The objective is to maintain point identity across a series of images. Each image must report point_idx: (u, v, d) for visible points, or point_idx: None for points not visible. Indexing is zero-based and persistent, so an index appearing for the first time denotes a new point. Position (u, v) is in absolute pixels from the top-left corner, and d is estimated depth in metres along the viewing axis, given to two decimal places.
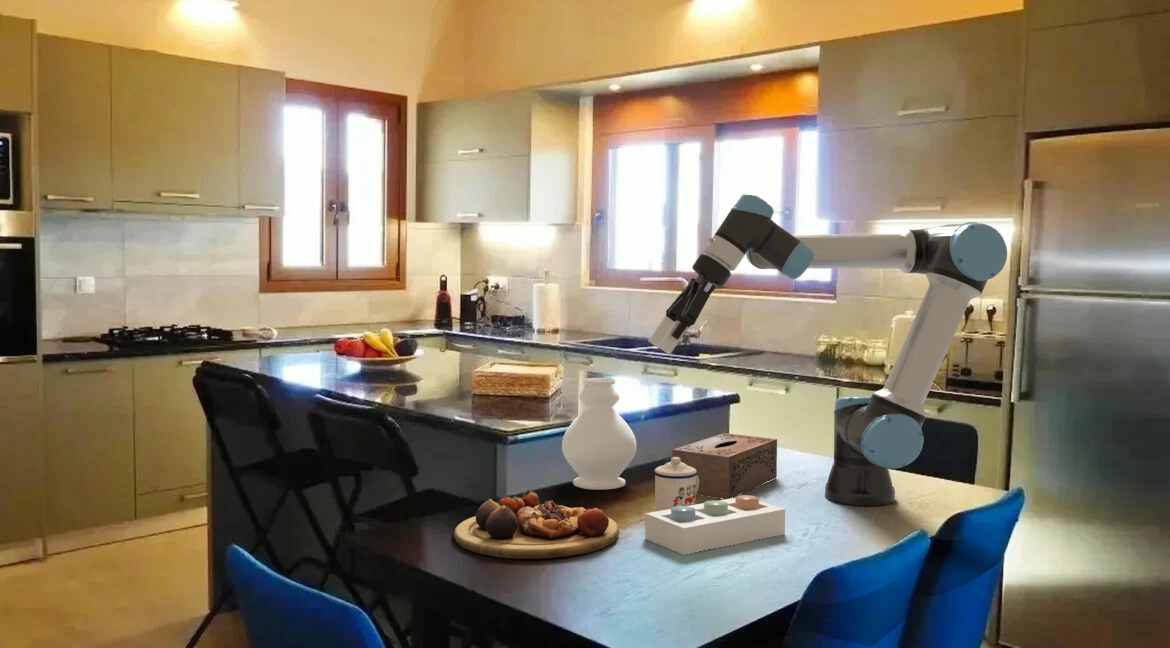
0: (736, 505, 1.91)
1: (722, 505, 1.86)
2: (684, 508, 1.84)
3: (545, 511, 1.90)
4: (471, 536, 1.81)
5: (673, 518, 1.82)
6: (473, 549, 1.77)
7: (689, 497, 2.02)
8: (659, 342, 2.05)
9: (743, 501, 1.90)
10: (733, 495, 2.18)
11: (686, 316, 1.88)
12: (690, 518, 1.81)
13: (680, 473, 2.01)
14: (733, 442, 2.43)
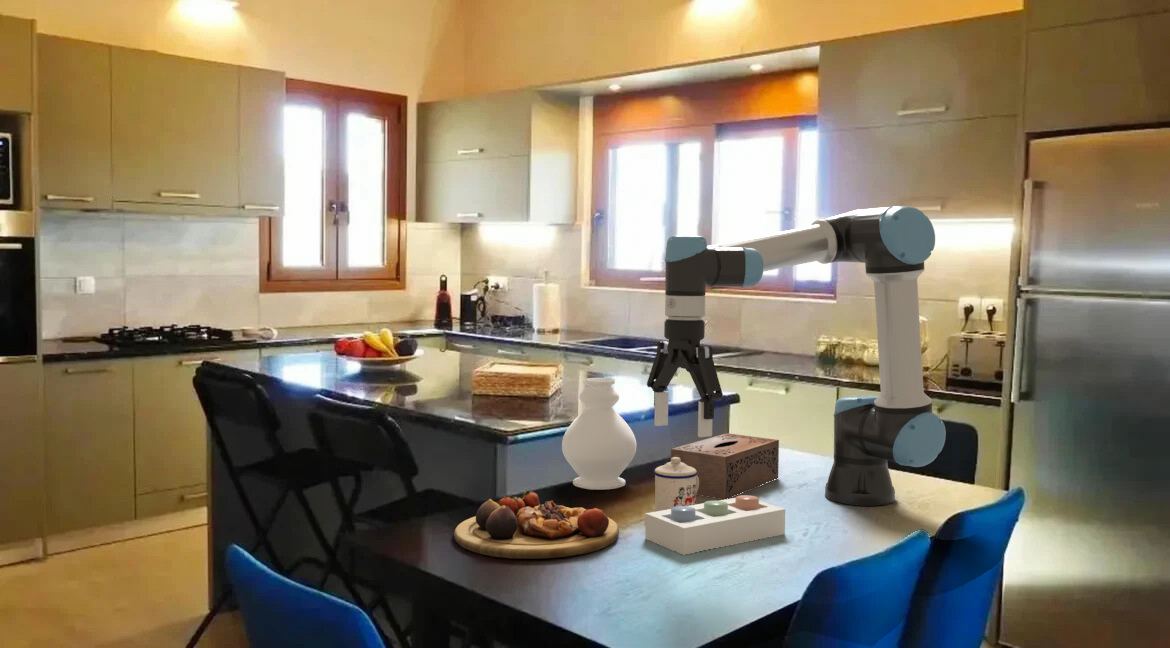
0: (736, 505, 1.91)
1: (722, 505, 1.86)
2: (684, 508, 1.84)
3: (545, 511, 1.90)
4: (471, 536, 1.81)
5: (673, 518, 1.82)
6: (473, 549, 1.77)
7: (689, 497, 2.02)
8: (665, 419, 1.88)
9: (743, 501, 1.90)
10: (730, 495, 2.18)
11: (713, 395, 1.73)
12: (690, 518, 1.81)
13: (680, 473, 2.01)
14: (736, 442, 2.43)
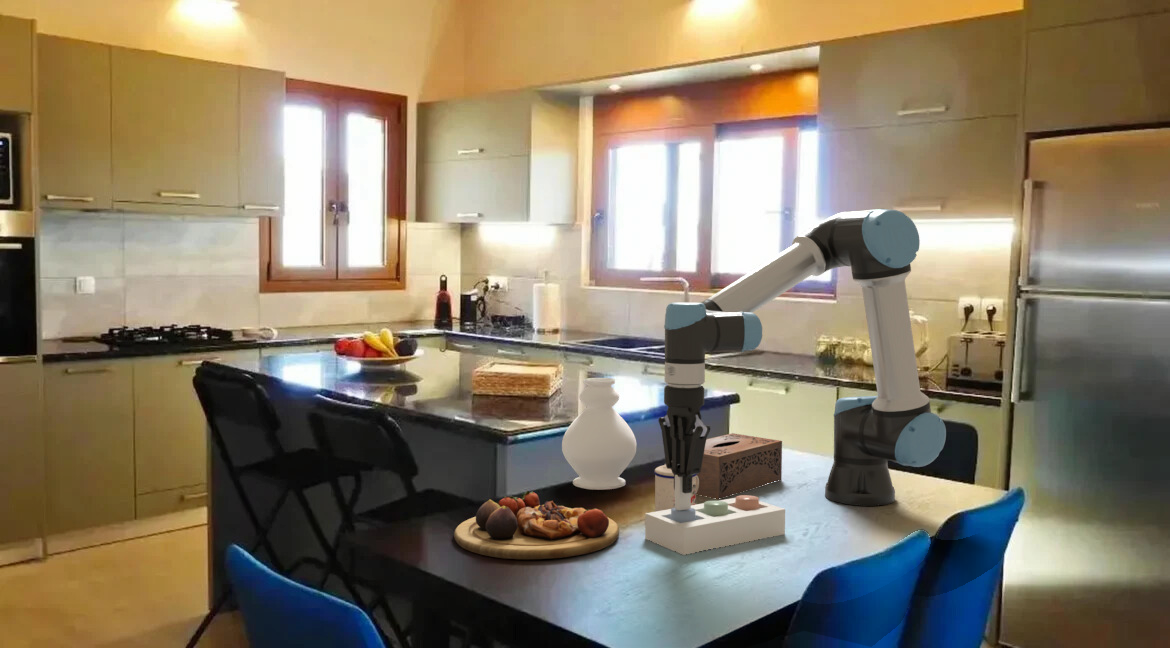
0: (736, 505, 1.91)
1: (722, 505, 1.86)
2: None
3: (545, 511, 1.90)
4: (471, 537, 1.81)
5: (673, 519, 1.82)
6: (473, 550, 1.77)
7: None
8: None
9: (743, 501, 1.90)
10: (725, 495, 2.18)
11: (691, 473, 1.79)
12: (690, 518, 1.81)
13: None
14: None
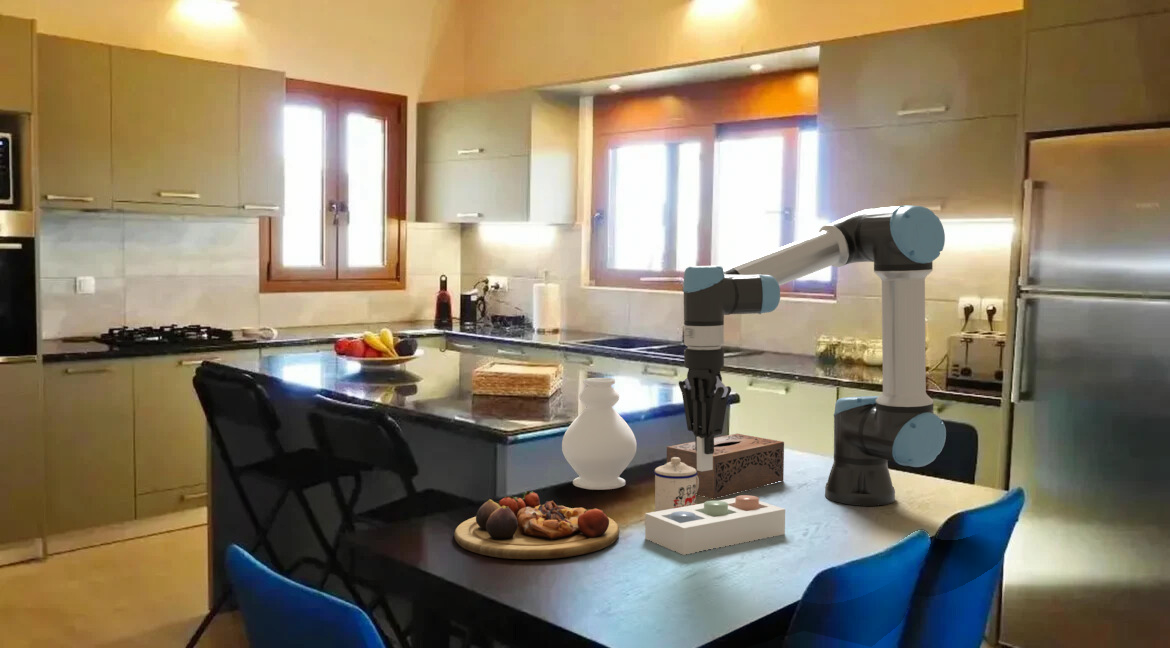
0: (736, 505, 1.91)
1: (722, 505, 1.86)
2: (684, 513, 1.84)
3: (545, 511, 1.90)
4: (471, 536, 1.81)
5: None
6: (474, 550, 1.77)
7: (689, 497, 2.02)
8: None
9: (743, 501, 1.90)
10: (721, 495, 2.19)
11: (713, 433, 1.81)
12: None
13: (680, 473, 2.01)
14: None
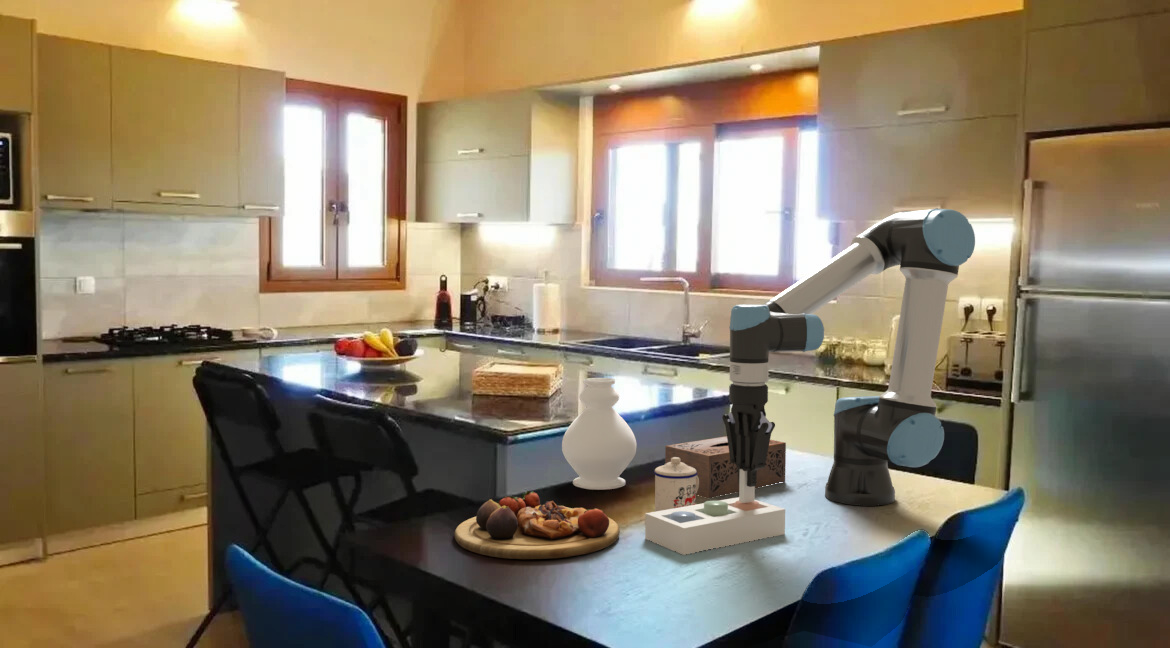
0: None
1: (722, 505, 1.86)
2: (684, 513, 1.84)
3: (546, 511, 1.90)
4: (471, 536, 1.81)
5: None
6: (474, 550, 1.77)
7: (689, 497, 2.02)
8: None
9: (743, 506, 1.90)
10: (716, 494, 2.19)
11: (756, 467, 1.88)
12: None
13: (680, 473, 2.01)
14: None
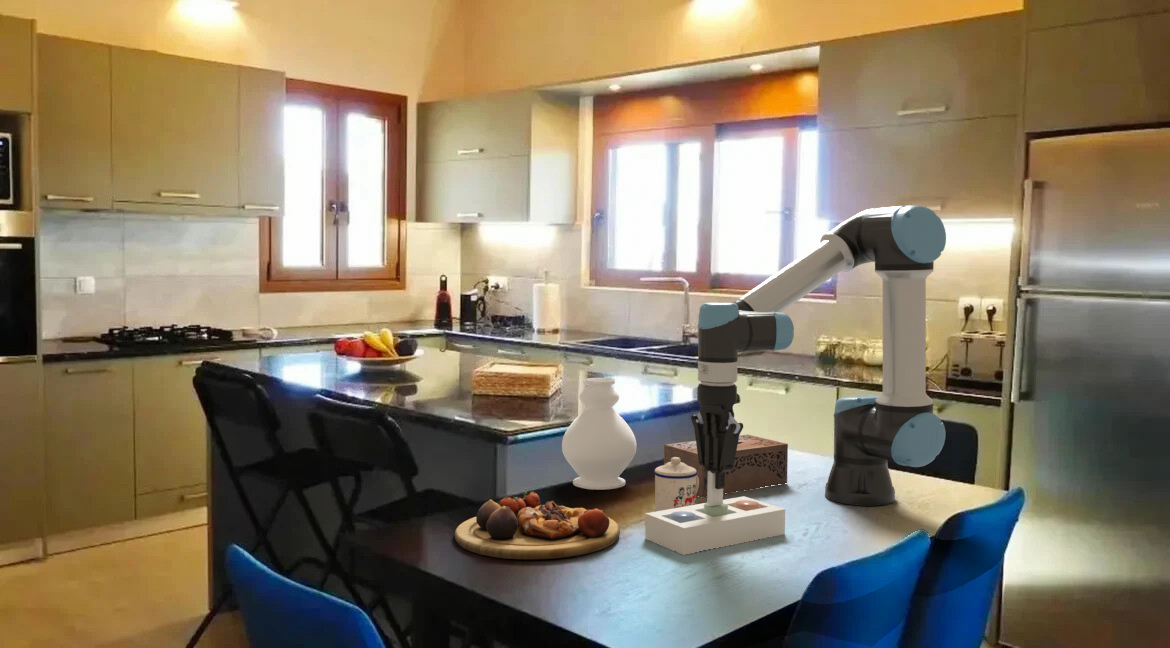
0: None
1: (722, 507, 1.86)
2: (684, 513, 1.84)
3: (546, 511, 1.89)
4: (471, 537, 1.81)
5: None
6: (474, 550, 1.77)
7: (689, 497, 2.02)
8: None
9: (743, 506, 1.90)
10: None
11: (724, 469, 1.83)
12: None
13: (680, 473, 2.01)
14: None
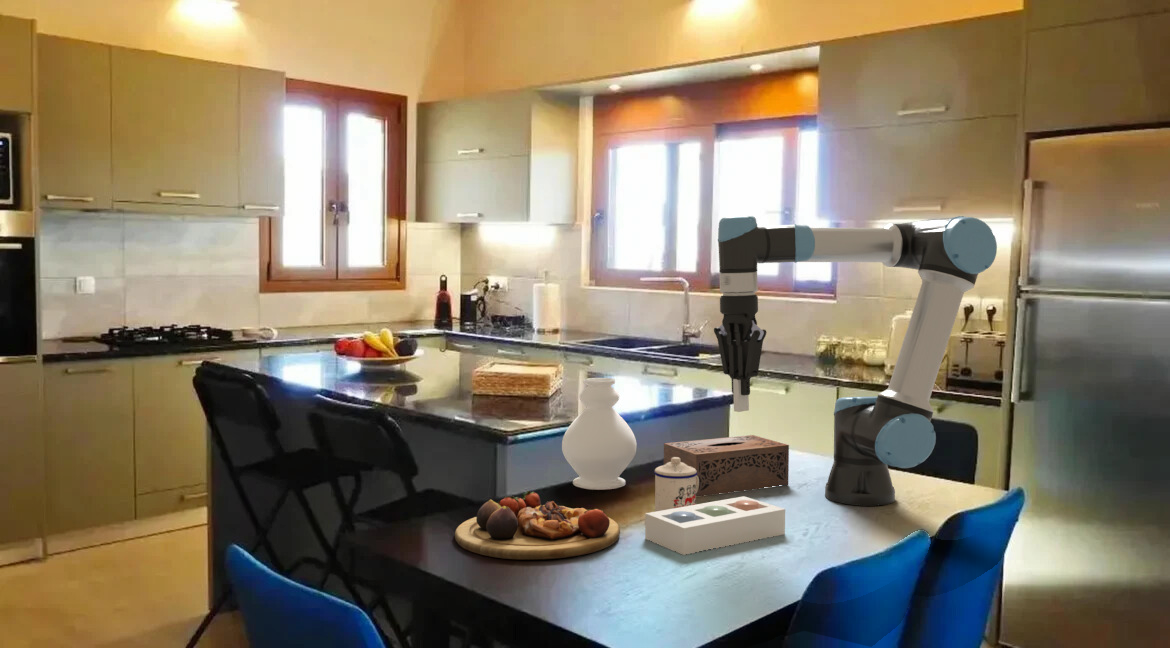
0: None
1: (722, 510, 1.86)
2: (684, 513, 1.84)
3: (546, 512, 1.89)
4: (472, 537, 1.81)
5: None
6: (474, 550, 1.76)
7: (689, 497, 2.02)
8: None
9: (743, 506, 1.90)
10: (705, 493, 2.20)
11: (750, 375, 1.91)
12: None
13: (680, 473, 2.01)
14: None
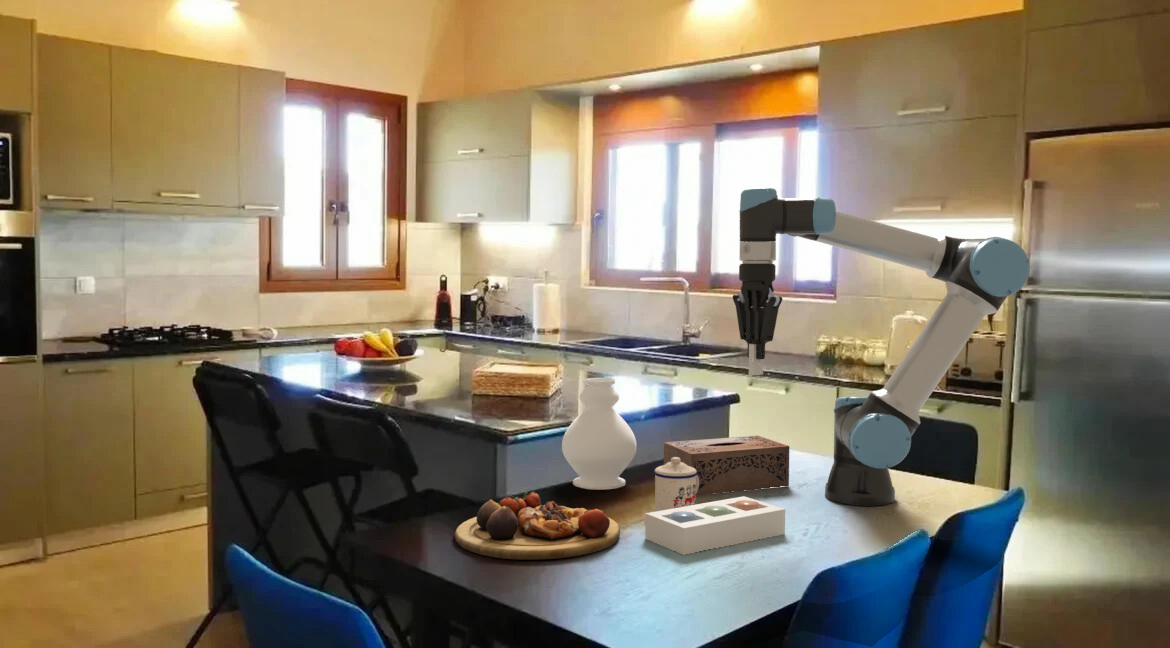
0: None
1: (722, 510, 1.86)
2: (684, 513, 1.84)
3: (546, 512, 1.89)
4: (472, 537, 1.81)
5: None
6: (474, 550, 1.76)
7: (689, 497, 2.02)
8: None
9: (743, 506, 1.90)
10: (701, 493, 2.20)
11: (765, 339, 2.00)
12: None
13: (680, 473, 2.01)
14: None
